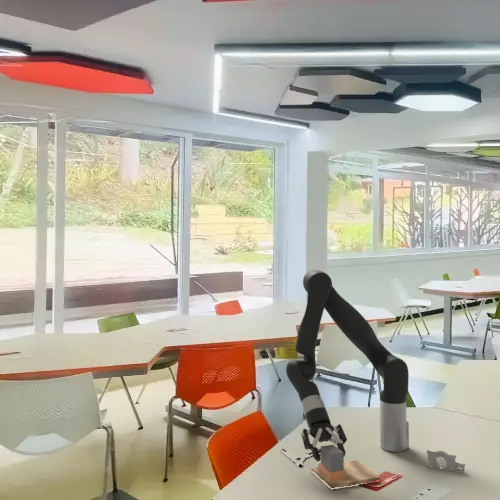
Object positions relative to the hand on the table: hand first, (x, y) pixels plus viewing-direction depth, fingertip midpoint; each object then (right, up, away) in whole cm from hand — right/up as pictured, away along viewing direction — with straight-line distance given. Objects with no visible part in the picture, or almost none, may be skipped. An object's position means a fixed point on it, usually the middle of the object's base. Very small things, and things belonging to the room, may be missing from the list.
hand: (331, 458), depth 175 cm
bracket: (-5, -7, +19) cm, 21 cm away
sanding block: (0, -5, 0) cm, 5 cm away
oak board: (+5, -6, +1) cm, 8 cm away
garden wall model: (+39, -6, +6) cm, 39 cm away
